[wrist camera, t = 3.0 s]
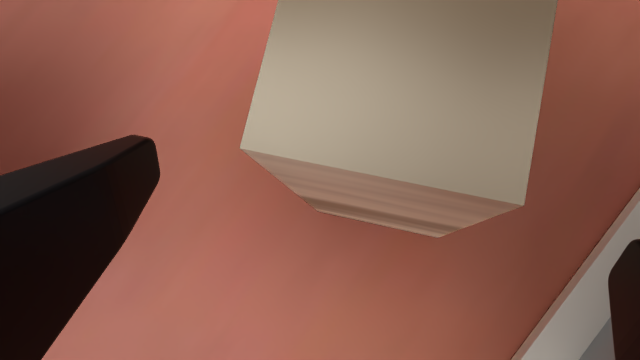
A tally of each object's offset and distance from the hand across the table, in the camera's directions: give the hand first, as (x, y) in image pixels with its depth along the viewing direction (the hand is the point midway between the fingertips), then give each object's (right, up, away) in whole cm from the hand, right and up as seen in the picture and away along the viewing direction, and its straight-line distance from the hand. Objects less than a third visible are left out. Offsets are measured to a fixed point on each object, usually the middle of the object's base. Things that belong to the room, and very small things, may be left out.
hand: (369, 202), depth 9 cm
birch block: (+2, +1, +10) cm, 11 cm away
